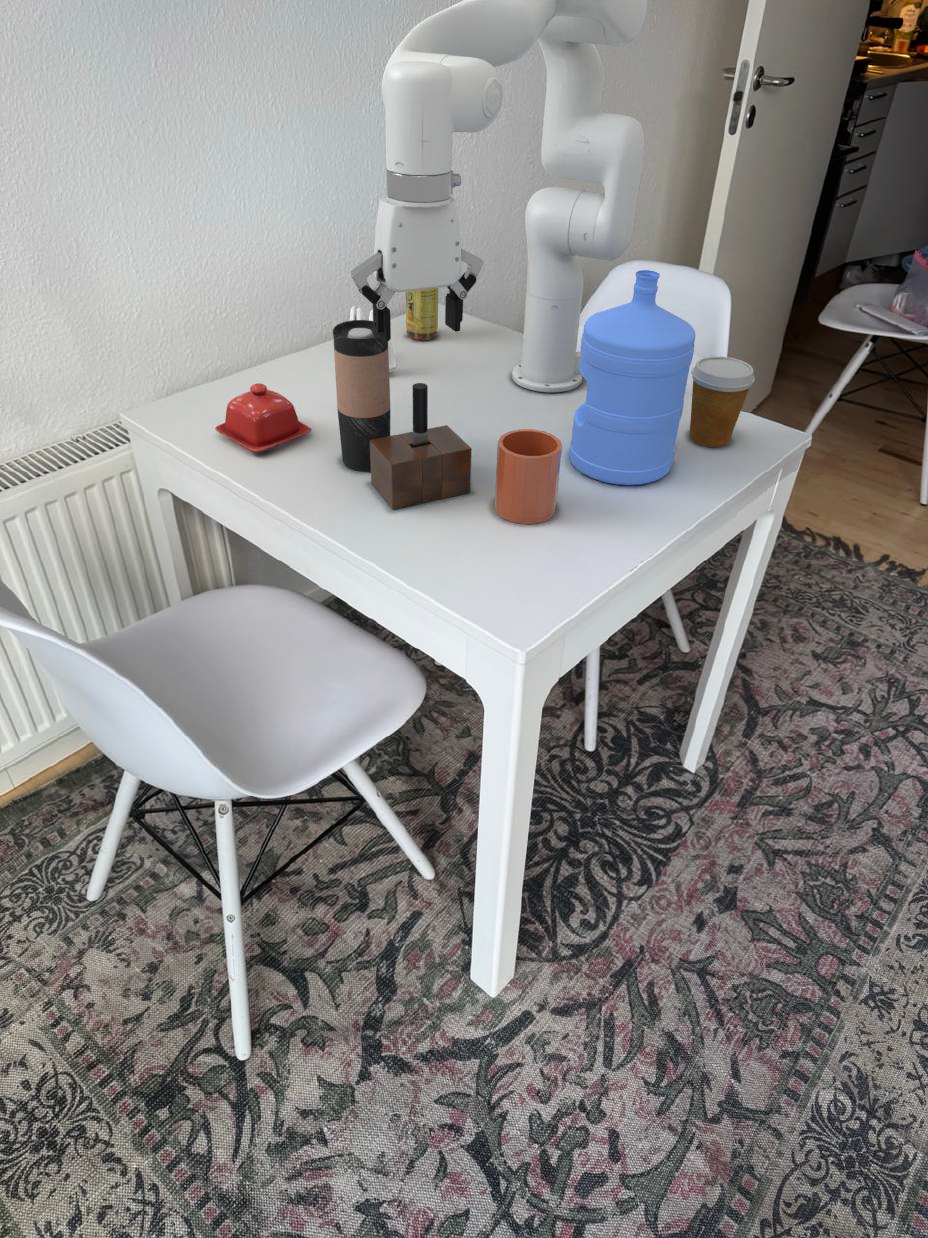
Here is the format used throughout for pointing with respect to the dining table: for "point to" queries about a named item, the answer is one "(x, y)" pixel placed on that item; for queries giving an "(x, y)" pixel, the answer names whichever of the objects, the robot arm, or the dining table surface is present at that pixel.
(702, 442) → the disposable coffee cup
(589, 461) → the water jug
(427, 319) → the sauce bottle
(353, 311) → the shaker set
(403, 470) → the knife block
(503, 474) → the cup
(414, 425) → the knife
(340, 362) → the travel mug
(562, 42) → the robot arm
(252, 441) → the butter dish
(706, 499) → the dining table surface
